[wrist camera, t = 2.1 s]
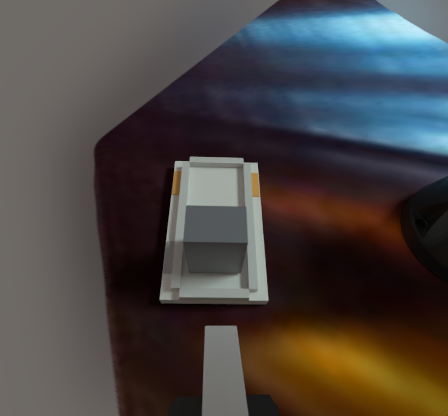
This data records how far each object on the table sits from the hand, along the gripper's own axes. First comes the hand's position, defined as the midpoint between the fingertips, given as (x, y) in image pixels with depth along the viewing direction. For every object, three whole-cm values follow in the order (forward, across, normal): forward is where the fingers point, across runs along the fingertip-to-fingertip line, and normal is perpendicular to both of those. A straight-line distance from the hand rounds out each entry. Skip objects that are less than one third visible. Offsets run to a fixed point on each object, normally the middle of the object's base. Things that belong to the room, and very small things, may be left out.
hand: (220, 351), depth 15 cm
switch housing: (+26, 0, -1) cm, 26 cm away
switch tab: (+21, 0, -3) cm, 21 cm away
